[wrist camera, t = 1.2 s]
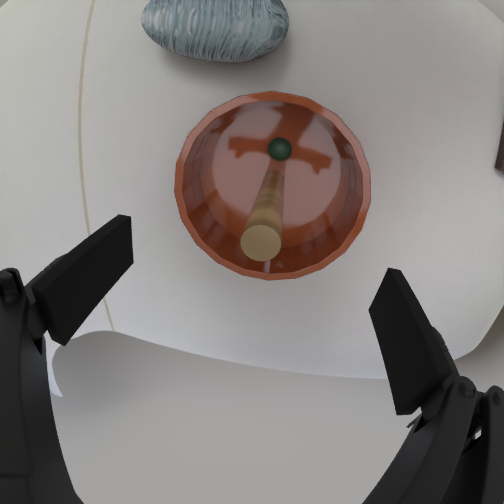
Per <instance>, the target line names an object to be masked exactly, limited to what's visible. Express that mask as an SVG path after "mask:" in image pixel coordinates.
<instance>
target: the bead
mask: <svg viewBox="0 0 504 504" xmlns="http://www.w3.org/2000/svg"><path fill="white" fill-rule="evenodd" d="M268 153H269V155H270V157H271V158H273V159H274V160H276V161H284V160H286V159H288V158H289V157H290V156H291V154H292V145H291V143H290V142H289V141H288V140H287V139H285V138H282V137H277V138H274V139H273V140H271V141H270V143H269V145H268Z"/></svg>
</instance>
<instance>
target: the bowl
mask: <svg viewBox="0 0 504 504" xmlns="http://www.w3.org/2000/svg"><path fill="white" fill-rule="evenodd" d="M277 137H282V138H285V139H287V140H288V141H289V142H290V143H291V145H292V154H291V156H290V157H289V158H288V159H286V160H284V161H276V160H274V159H273V158H271V157H270V155H269V153H268V145H269V143H270V141H271V140H273V139H274V138H277ZM270 170H278V171H280V172H281V173H282V174H283V175H284V178H285V186H284V206H283V224H282V241H281V248H280V251H279V253H278V254H277V255H276V256H275V257H274V258H272V259H270V260H268V261H256V260H253V259H251V258H249V257H248V256H247V255H246V254H245V253H244V252H243V250H242V248H241V242H240V241H241V236H242V234H243V231H244V228H245V226H246V223H247V220H248V218H249V215H250V212H251V210H252V207H253V205H254V202H255V199H256V197H257V194H258V191H259V189H260V186H261V184H262V181H263V178H264V176H265V174H266V173H267V172H268V171H270ZM174 193H175V198H176V202H177V205H178V209H179V213H180V217H181V220H182V222H183V223H184V225H185V227H186V228H187V230H188V232H189V233H190V235H191V237H192V238H193V240H194V241H195V243H196V244H197V245H198V246H199V247H200V248H201V249H202V250H203V251H204V252H205V253H207V254H208V255H209V256H210V257H211V258H212V259H213V260H214V261H215V262H217V263H219V264H221V265H223V266H225V267H227V268H229V269H231V270H233V271H235V272H237V273H239V274H241V275H244V276H249V277H254V278H259V279H264V280H282V279H296V278H299V277H302V276H304V275H307V274H310V273H313V272H315V271H318V270H321V269H323V268H324V267H326V266H327V265H328V264H330V263H331V262H333V261H334V260H335V259H337V258H338V257H339V256H341V255H342V254H343V253H345V252H346V251H347V249H348V248H349V247H350V245H351V244H352V242H353V241H354V240H355V238H356V237H357V236H358V234H359V233H360V231H361V230H362V227H363V224H364V221H365V218H366V215H367V212H368V209H369V206H370V202H371V181H370V169H369V166H368V163H367V160H366V158H365V155H364V152H363V150H362V147H361V145H360V142H359V141H358V139H357V138H356V137H355V135H354V134H353V133H352V132H351V131H350V129H349V128H348V127H347V126H346V125H345V123H344V122H343V121H342V120H341V119H340V118H339V117H338V116H337V115H336V114H335V113H333V112H331V111H330V110H328V109H326V108H325V107H323V106H321V105H320V104H318V103H316V102H314V101H313V100H311V99H309V98H306V97H302V96H297V95H292V94H287V93H282V92H276V91H268V92H261V93H254V94H248V95H242V96H238V97H236V98H234V99H232V100H230V101H228V102H226V103H224V104H222V105H221V106H219V107H217V108H215V109H213V110H212V111H210V112H209V113H208V114H207V115H206V116H205V117H204V118H203V119H202V120H201V121H200V122H199V123H198V125H197V126H196V127H195V128H194V129H193V130H192V131H191V132H190V134H189V135H188V136H187V139H186V141H185V143H184V146H183V148H182V150H181V153H180V155H179V158H178V160H177V163H176V172H175V187H174Z"/></svg>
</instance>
